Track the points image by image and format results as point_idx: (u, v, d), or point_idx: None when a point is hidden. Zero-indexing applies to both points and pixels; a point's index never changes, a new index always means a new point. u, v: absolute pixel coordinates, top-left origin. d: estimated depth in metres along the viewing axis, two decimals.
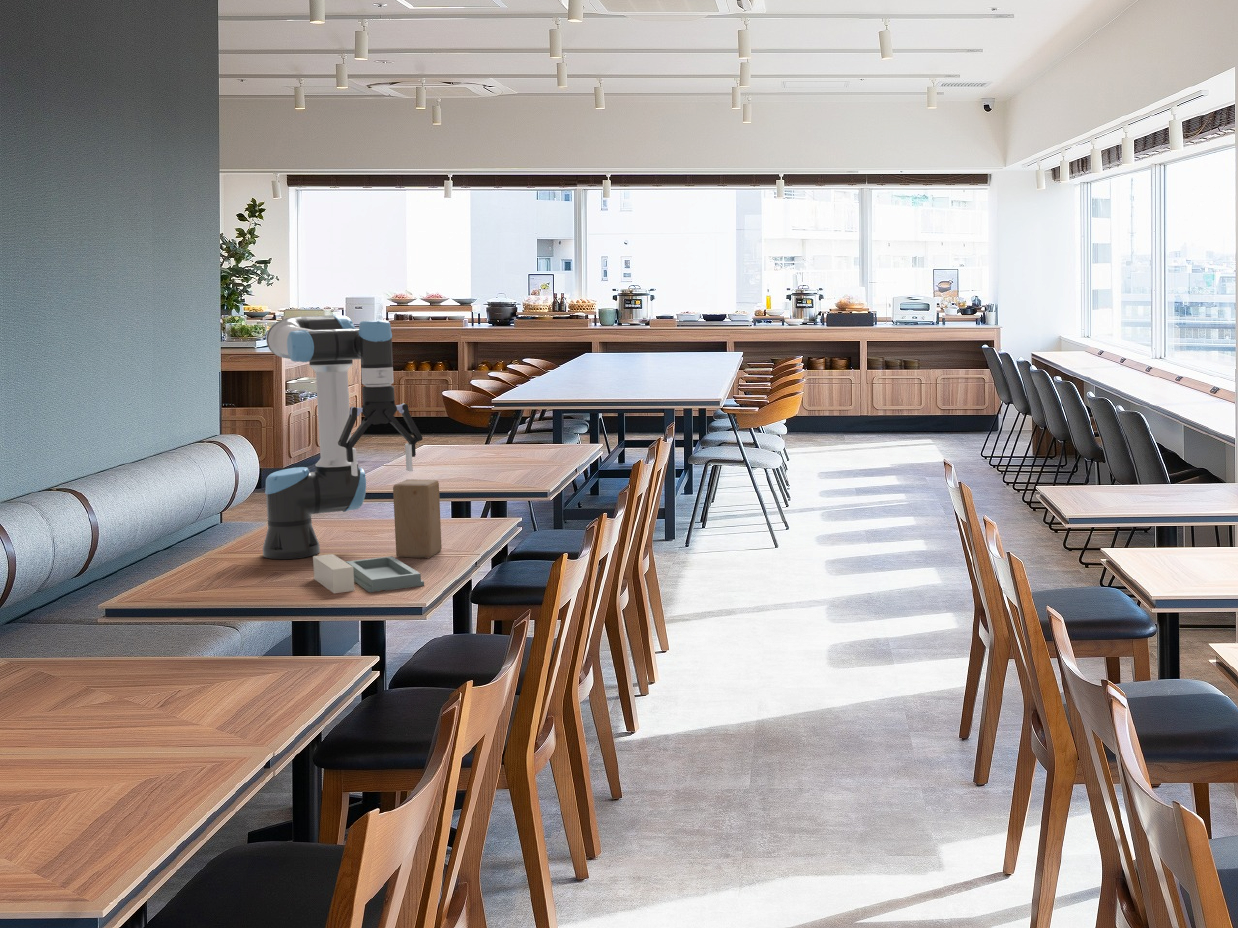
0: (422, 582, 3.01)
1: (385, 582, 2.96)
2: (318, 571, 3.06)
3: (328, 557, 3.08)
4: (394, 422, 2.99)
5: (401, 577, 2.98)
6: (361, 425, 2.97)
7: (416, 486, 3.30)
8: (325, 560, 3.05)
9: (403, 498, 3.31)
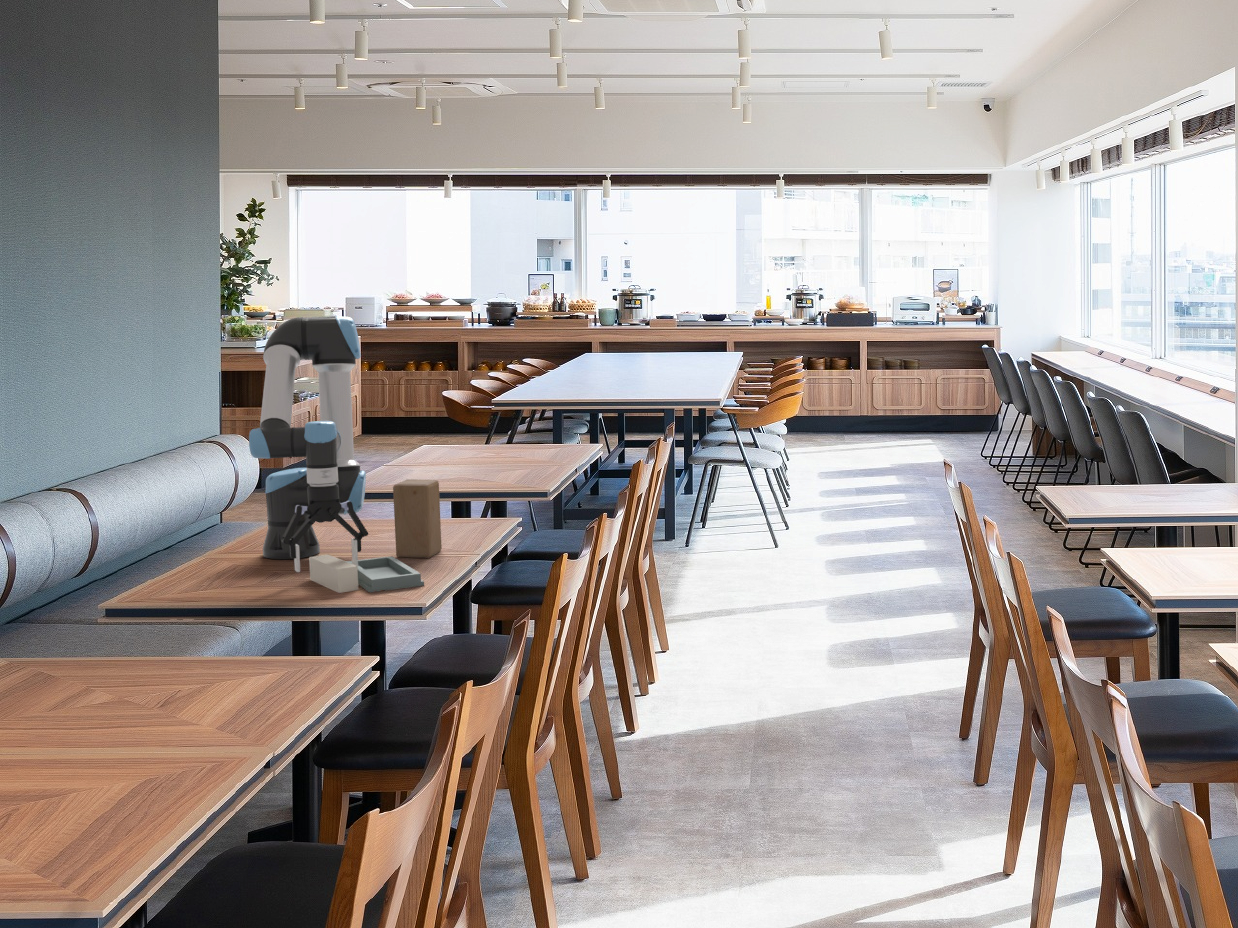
0: (422, 582, 3.01)
1: (385, 582, 2.96)
2: (316, 572, 3.06)
3: (325, 557, 3.08)
4: (339, 519, 3.06)
5: (401, 577, 2.98)
6: (305, 523, 3.04)
7: (416, 486, 3.30)
8: (324, 560, 3.05)
9: (403, 498, 3.31)
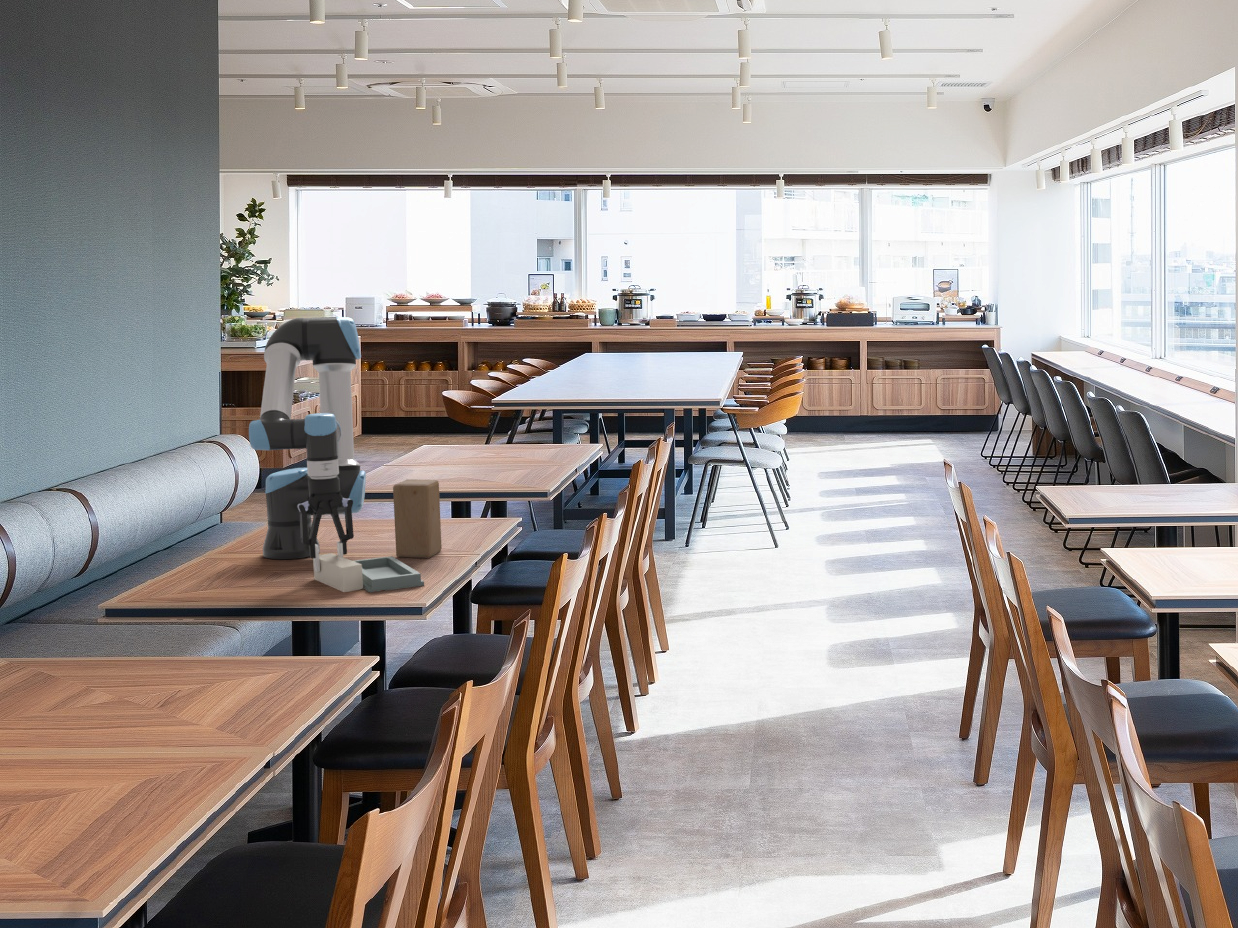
0: (422, 582, 3.01)
1: (385, 582, 2.96)
2: (320, 570, 3.06)
3: (329, 556, 3.09)
4: (335, 515, 3.06)
5: (401, 577, 2.98)
6: (314, 519, 3.05)
7: (416, 486, 3.30)
8: (328, 559, 3.05)
9: (403, 498, 3.31)
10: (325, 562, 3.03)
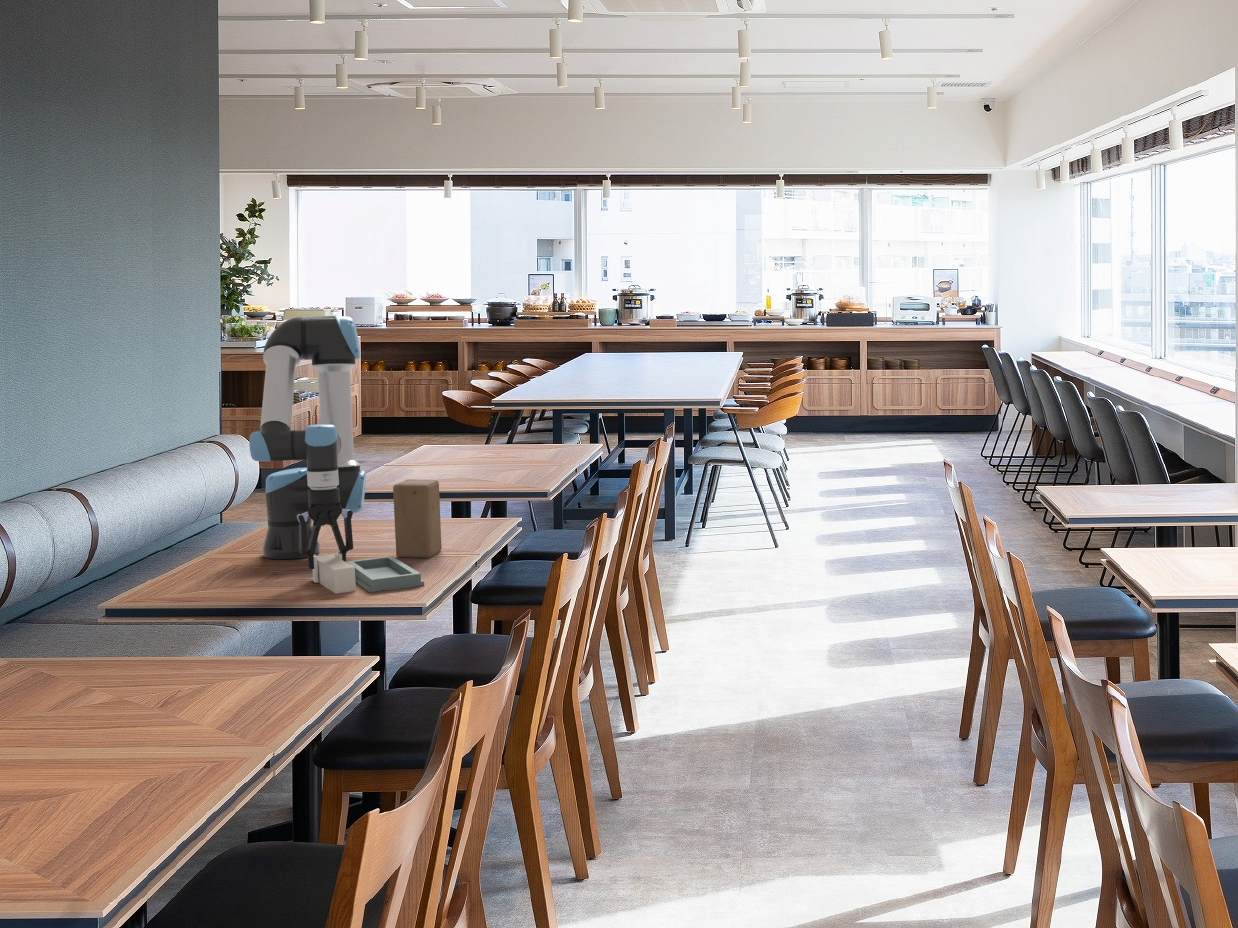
0: (422, 582, 3.01)
1: (385, 582, 2.96)
2: (318, 571, 3.06)
3: (328, 557, 3.08)
4: (334, 526, 3.06)
5: (401, 577, 2.98)
6: (313, 530, 3.05)
7: (416, 486, 3.30)
8: (325, 560, 3.04)
9: (403, 498, 3.31)
10: (321, 563, 3.03)
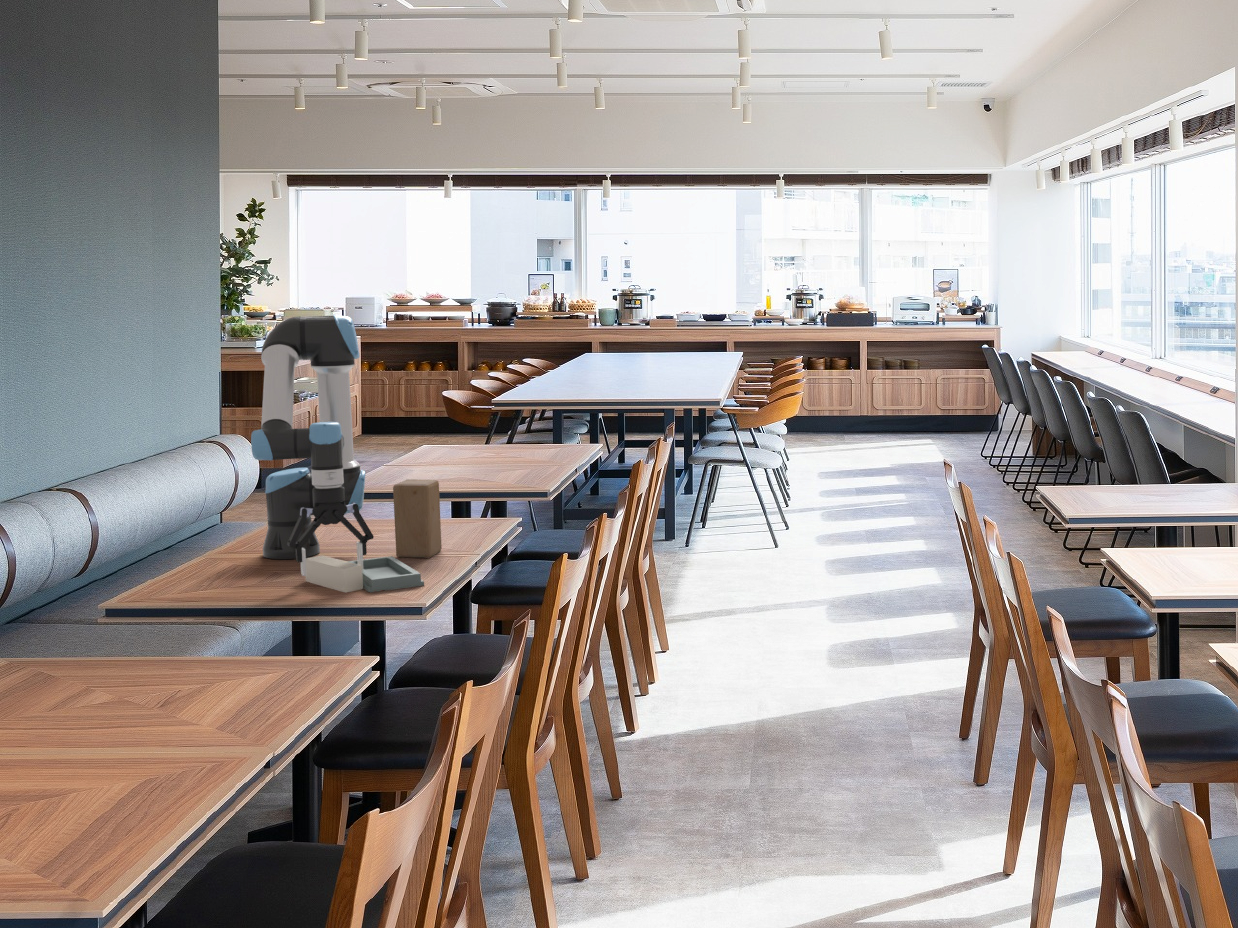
0: (422, 582, 3.01)
1: (385, 582, 2.96)
2: (315, 573, 3.05)
3: (322, 558, 3.07)
4: (344, 522, 3.02)
5: (401, 577, 2.98)
6: (311, 525, 3.00)
7: (416, 486, 3.30)
8: (323, 561, 3.04)
9: (403, 498, 3.31)
10: (321, 564, 3.02)
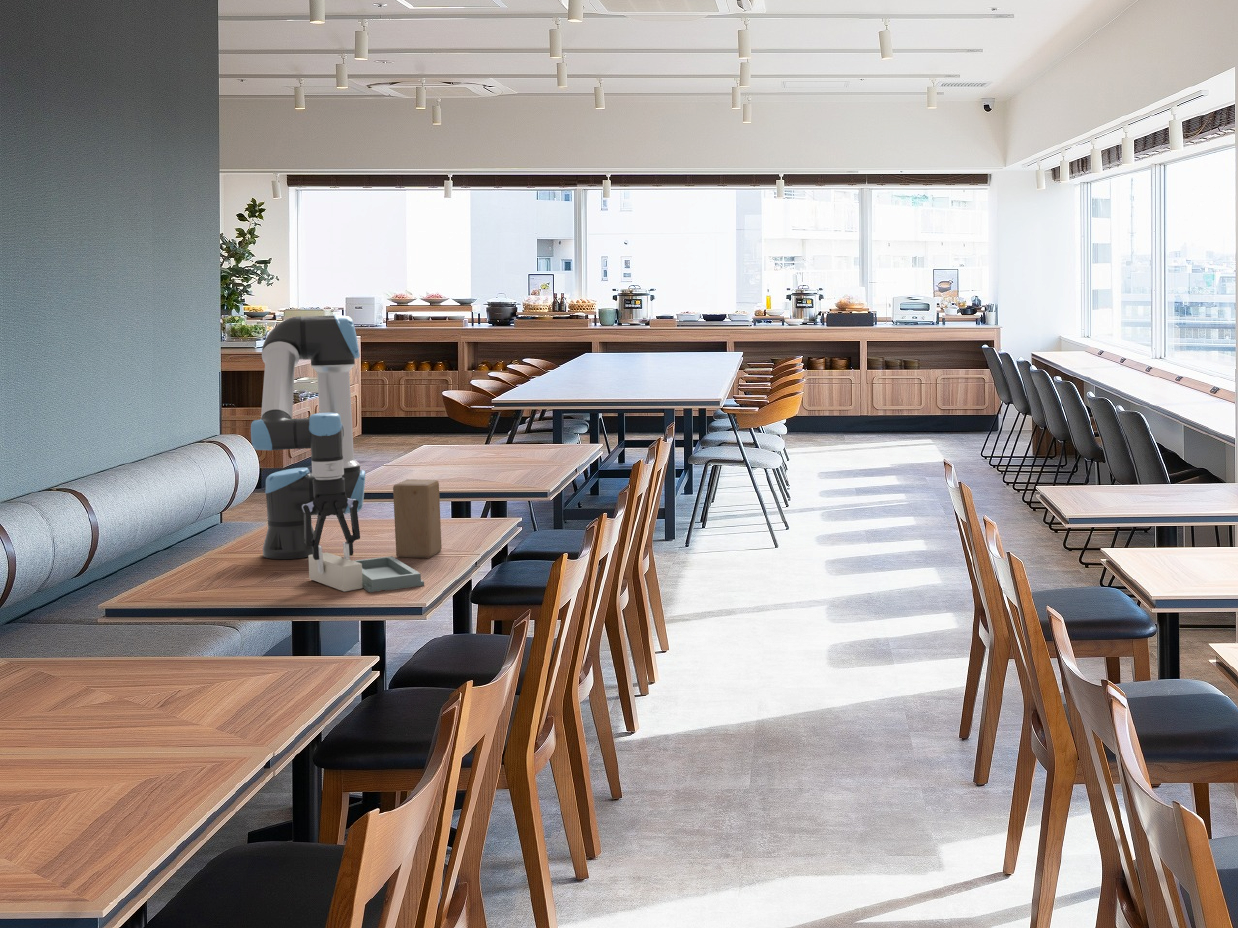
0: (422, 582, 3.01)
1: (385, 582, 2.96)
2: (317, 569, 3.05)
3: (326, 555, 3.08)
4: (340, 516, 3.01)
5: (401, 577, 2.98)
6: (318, 520, 3.01)
7: (416, 486, 3.30)
8: (326, 558, 3.04)
9: (403, 498, 3.31)
10: (323, 561, 3.03)
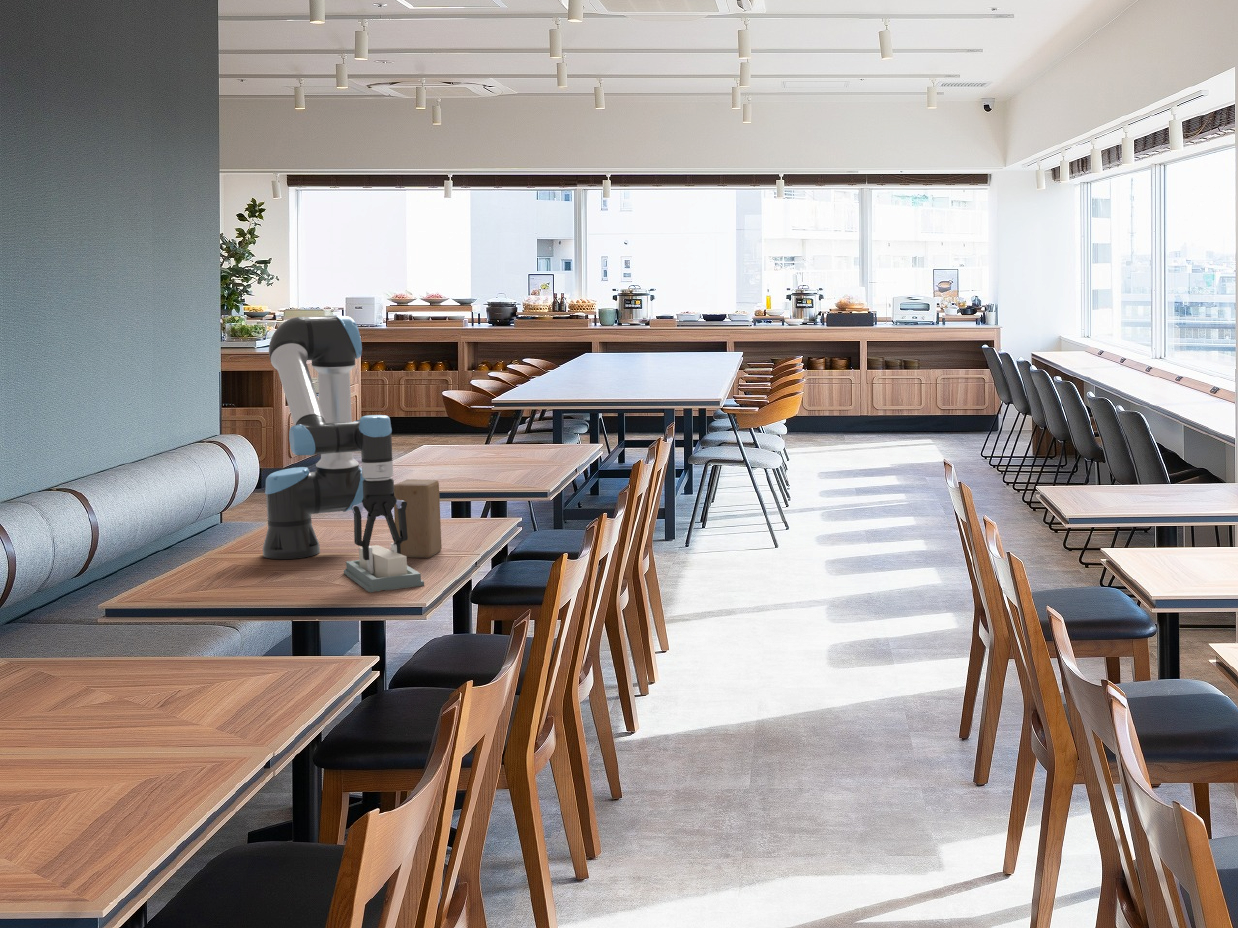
0: (422, 582, 3.01)
1: (385, 582, 2.96)
2: (366, 562, 3.10)
3: (375, 548, 3.12)
4: (389, 516, 3.06)
5: (401, 577, 2.98)
6: (368, 521, 3.05)
7: (416, 486, 3.30)
8: (374, 551, 3.08)
9: (403, 498, 3.31)
10: None
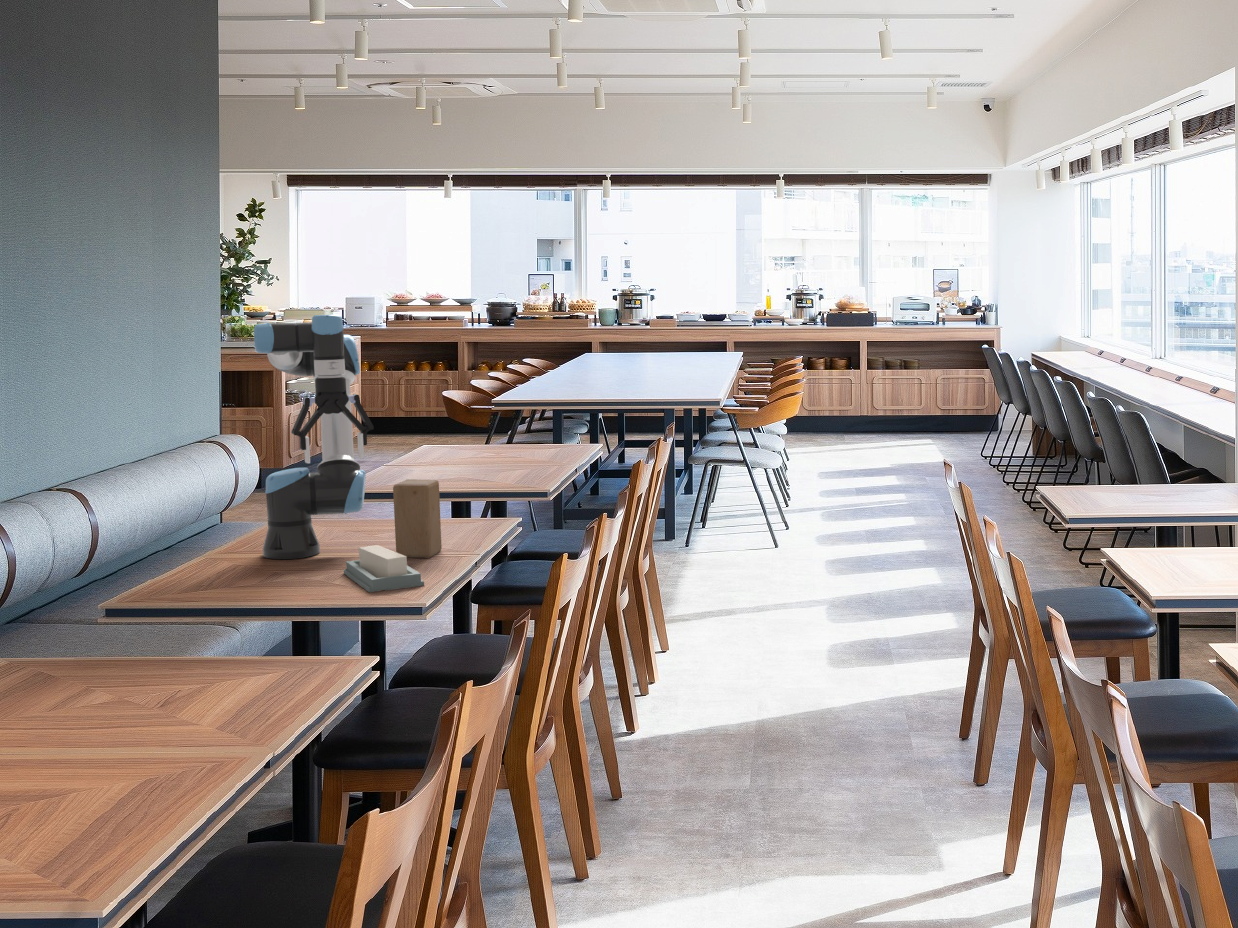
0: (422, 582, 3.01)
1: (385, 582, 2.96)
2: (366, 562, 3.10)
3: (375, 548, 3.12)
4: (346, 412, 3.12)
5: (401, 577, 2.98)
6: (314, 415, 3.10)
7: (416, 486, 3.30)
8: (374, 551, 3.08)
9: (403, 498, 3.31)
10: (371, 553, 3.07)
